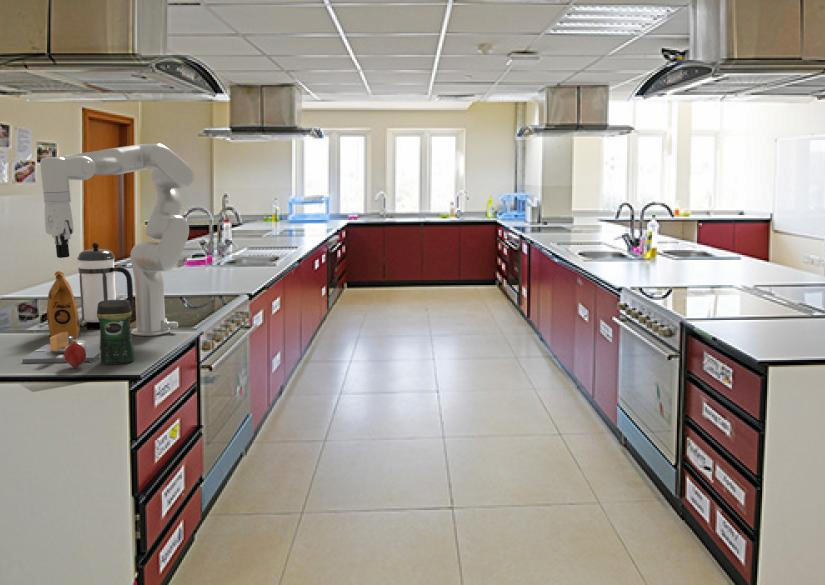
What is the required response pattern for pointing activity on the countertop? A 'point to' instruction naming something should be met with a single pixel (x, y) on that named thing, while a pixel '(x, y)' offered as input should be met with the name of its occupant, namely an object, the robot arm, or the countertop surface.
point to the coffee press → (98, 280)
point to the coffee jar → (115, 332)
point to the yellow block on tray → (63, 342)
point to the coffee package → (62, 308)
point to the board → (47, 356)
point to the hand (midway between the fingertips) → (63, 257)
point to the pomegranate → (75, 354)
